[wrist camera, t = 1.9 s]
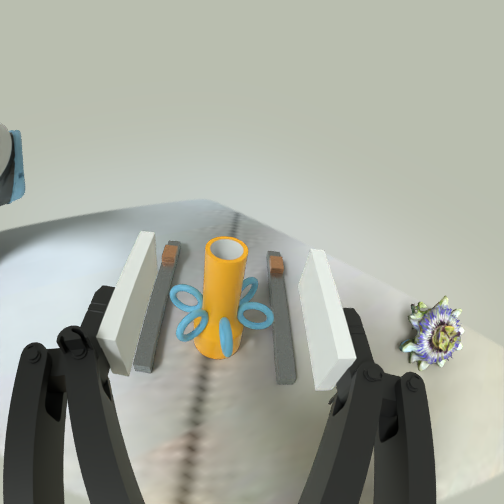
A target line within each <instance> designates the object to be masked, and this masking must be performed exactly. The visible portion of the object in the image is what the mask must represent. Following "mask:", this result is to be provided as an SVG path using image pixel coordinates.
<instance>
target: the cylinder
mask: <svg viewBox="0 0 504 504" xmlns="http://www.w3.org/2000/svg"><path fill="white" fill-rule="evenodd" d="M247 256H248V248H247V246H246V245H245V244H244V243H243V242H242V241H240V240H238V239H236V238H233V237H227V236H222V237H216V238H213V239H211V240H210V241H209V242H208V243H207V244H206V248H205V265H204V283H203V295H202V294H201V293H200V292H199V291H198V290H197V289H195V288H194V287H192V286H189V285H185V284H179V285H176V286H174V287H173V288H172V289H171V290H170V299H171V301H172V302H173V304H174V305H175V306H176V307H178V308H179V309H181V310H183V311H186V312H190V313H189V314H188V315H186V316H185V317H184V318H183V319H182V321H181V322H180V323H179V325H178V327H177V330H176V336H177V338H178V339H179V340H180V341H183V342H186V341H190V340H192V339H194V344H195V346H196V348H197V349H198V351H199V352H200V353H202V354H203V355H204V356H206V357H208V358H211V359H225V358H228V357H230V356H232V355H233V354H234V353H235V352H236V351H237V350H238V348H239V346H240V342H241V337H242V332H243V327H244V326H246V327H248V328H251V329H265V328H267V327H269V326H270V325H271V324H272V323H273V321H274V315H273V312H272V311H271V310H270V309H269V308H268V307H267V306H265V305H263V304H261V303H257V302H249V301H250V299H251V298H252V297H253V296H254V294H255V292H256V290H257V288H258V281H257V279H256V278H254V277H249V278H247V279H245V280H243V279H244V273H245V268H246V262H247ZM249 284H252V286H251V289H250V291H249V292H248V293H247V295H246V296H245V297H244V298H243V299H241V300H240V297H241V292H242V291H243V289H244V288H245V287H247V286H248V285H249ZM179 291H185V292H188V293H190V294H192V295H193V296H195V297H196V299H197V301H198V304H197V305H196V306H188V305H185V304H183V303H182V302H180V301H179V300H178V298H177V296H176V293H177V292H179ZM248 309H256V310H259V311H262V312H263V313H264V314H265V315H266V316H267V320H266V321H264V322H262V323H254V322H251V321H249V320H247V319H246V318H245V317H244V315H243V312H244V311H246V310H248ZM192 320H194V330H193V331H192V332H190V333H189V334H185V335H184V330H185V328H186V327H187V325H188V324H189V323H190V322H191V321H192Z"/></svg>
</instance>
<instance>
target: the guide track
mask: <svg viewBox="0 0 504 504" xmlns="http://www.w3.org/2000/svg"><path fill="white" fill-rule="evenodd" d="M179 252H180V242H178V241H169V242H168V245H166V246H165V248H164V251H163V254H162V263H161V266H160V270H159V273H158V276H157V279H156V282H155V286H154V289H153V292H152V296H151V299H150V303H149V306H148V310H147V313H146V317H145V320H144V324H143V328H142V331H141V335H140V339H139V343H138V347H137V351H136V355H135V359H134V363H133V366H134V368H135V371H141V372H147V373H151V372H152V367H153V362H154V357H155V352H156V347H157V342H158V338H159V333H160V329H161V324H162V320H163V315H164V311H165V307H166V303H167V299H168V294H169V290H170V286H171V282H172V279H173V275H174V271H175V267H176V263H177V259H178V256H179ZM267 269H268V280H269V292H270V303H271V311H272V312H273V315H274V321H273V323H272V328H273V340H274V353H275V366H276V379H277V384H293V383H294V382H295V380H296V373H295V365H294V356H293V348H292V340H291V332H290V324H289V317H288V309H287V302H286V294H285V287H284V280H283V271H284V266H283V259H282V257H280V252H274V251H268V253H267Z"/></svg>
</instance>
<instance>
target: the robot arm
mask: <svg viewBox="0 0 504 504" xmlns="http://www.w3.org/2000/svg"><path fill="white" fill-rule="evenodd" d="M24 193H25V179H24V170H23V156H22V141H21V133H20V131H19V130H15V131H13V130H11V131H8V129H7V128H6V127H5V126H4V125H3V124H2V123H0V206H2V205H5V204H10V203H12V201H15V200H17V199H20V198H21V197H22V196H23V195H24ZM157 273H158V271H157V259H156V244H155V232H146V231H140V234H139V236H138V238H137V240H136V242H135V244H134V246H133V248H132V251H131V253H130V255H129V257H128V259H127V262H126V264H125V266H124V268H123V271H122V273H121V275H120V278H119V280H118V282H117V285H116V287H110V286H102V287H101V288H100V289H98V290H97V291H96V292H95V294H94V296H93V299H92V301H91V304H90V305H89V308H88V311H87V312H86V315H85V317H84V319H83V322H82V324H81V327H79V326H69V327H66V328H64V329H63V330H62V331H61V332H60V333H59V335H58V337H57V344H58V346H59V347H60V348H56V349H46V348H45V347H44V346H43V345H42V344H41V343H38V342H36V343H31V344H29V345H27V346H26V347H25V348H24V349H23V351H22V354H21V357H20V361H19V365H18V369H17V373H16V378H15V382H14V387H13V392H12V397H11V403H10V409H9V416H8V423H7V431H6V440H5V451H4V470H3V495H4V496H3V497H4V498H3V499H4V504H64V483H63V455H64V432H65V419H66V408H67V399H68V407H69V414H70V420H71V426H72V432H73V437H74V442H75V447H76V452H77V456H78V461H79V465H80V469H81V473H82V477H83V480H84V484H85V487H86V491H87V494H88V497H89V500H90V504H145V502H144V500H143V497H142V495H141V492H140V489H139V487H138V484H137V481H136V478H135V475H134V472H133V469H132V466H131V463H130V460H129V457H128V454H127V450H126V447H125V443H124V440H123V436H122V433H121V429H120V425H119V421H118V417H117V413H116V408H115V404H114V400H113V395H112V390H111V385H110V380H109V378H108V373H109V369H110V368H111V371H112V373H114V374H119V375H124V376H129V375H130V371H131V367H132V363H133V358H134V354H135V350H136V346H137V343H138V339H139V335H140V331H141V327H142V324H143V320H144V317H145V313H146V310H147V306H148V303H149V299H150V296H151V292H152V289H153V286H154V283H155V279H156V276H157ZM298 289H299V295H300V300H301V306H302V311H303V317H304V323H305V329H306V334H307V340H308V346H309V353H310V359H311V365H312V371H313V378H314V385H315V391H322V390H332V389H333V387H334V386H335V385H336V386H337V391H338V392H337V393H336V394H335V395H334V396H333V398H332V399H331V400H330V401H329V403H328V404H331V403H332V402H333V404H332V407H331V411H330V414H329V417H328V421H327V424H326V427H325V430H324V434H323V437H322V440H321V443H320V446H319V449H318V452H317V455H316V458H315V461H314V463H313V466H312V469H311V472H310V474H309V477H308V480H307V482H306V485H305V487H304V490H303V492H302V495H301V497H300V500H299V502H298V504H358V503H359V500H360V496H361V493H362V490H363V486H364V483H365V479H366V475H367V472H368V468H369V464H370V460H371V455H372V451H373V447H374V504H436V475H435V459H434V448H433V438H432V429H431V421H430V414H429V407H428V401H427V395H426V389H425V384H424V382H423V379H422V378H421V377H420V376H419V375H418V374H416V373H413V372H407V373H405V374H404V375H403V376H402V377H399V376H395V375H391V374H387V373H385V372H384V371H383V369H382V368H381V367H380V366H379V365H378V364H376V363H374V360H373V357H372V354H371V350H370V347H369V344H368V341H367V337H366V335H365V331H364V328H363V325H362V322H361V319H360V316H359V315H358V314H357V312H356V311H355V310H354V308H342V305H341V301H340V298H339V295H338V292H337V288H336V285H335V282H334V279H333V276H332V272H331V269H330V266H329V263H328V260H327V257H326V254H325V251H324V250H318V249H310V252H309V255H308V258H307V261H306V264H305V267H304V270H303V273H302V276H301V279H300V282H299V285H298Z"/></svg>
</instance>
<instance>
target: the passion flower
mask: <svg viewBox="0 0 504 504" xmlns="http://www.w3.org/2000/svg"><path fill="white" fill-rule="evenodd" d="M420 308H427V306H426V305H425V304H424V303H423V302H419V303H418V305H417V306H416V307H415V304H411V309H412V314H411V315H409V316H408V319H409V322H410V323H411V324H412V326H413V328H415V329H416V330H417V335H416V337H414V338H413V339H408V340H406V341H404V342H402V343H401V345H400V348H399V349H400V350H401V351H402V352H411V353H410V363H413V362H415V361H418V369H419V371H422V370H425V369H426V368H427V367H428V366H429V365H430V364H432V363H436V362H437V365H438V366H439V367H443V365H444V364H445V362H446V359H447V360H448V357H450V356H452V353H453V352H454V351H458V350H461V349H462V348H463V345H462V344H461V343H460V342H461V341H460V340H461V337H460V336H461V335H462V334H463V333H464V332H465V330H464V328H462V327H461V326H459V325H457V323H458V322H459V320H457V318H458V316H459V315H460V314H461V312H462V310H461V309H455V310H453V311H452V309H448V298H447V297H446V296H444V298H443V299H442V300H441V301H440V302H438V303H437V304H436V305H435V306H434V307H433V308H432V309H428V310H426V311H420ZM415 310H417V311H418V312H417V313H416V312H415ZM451 311H452V312H451ZM456 320H457V321H456ZM413 328H412V329H413ZM451 358H452V357H451ZM448 361H449V360H448Z"/></svg>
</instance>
